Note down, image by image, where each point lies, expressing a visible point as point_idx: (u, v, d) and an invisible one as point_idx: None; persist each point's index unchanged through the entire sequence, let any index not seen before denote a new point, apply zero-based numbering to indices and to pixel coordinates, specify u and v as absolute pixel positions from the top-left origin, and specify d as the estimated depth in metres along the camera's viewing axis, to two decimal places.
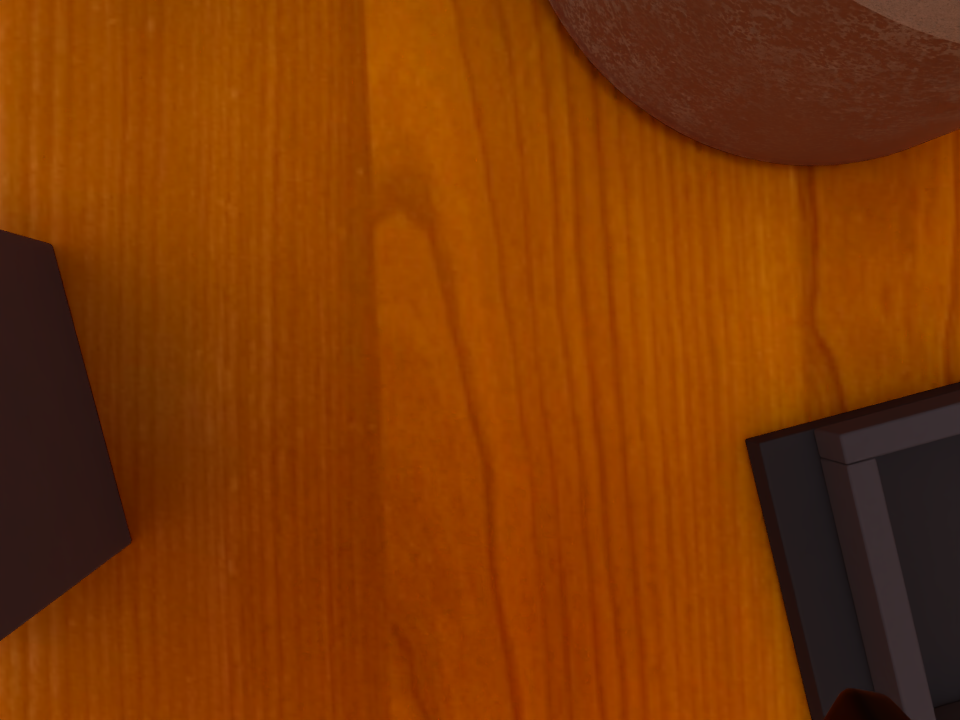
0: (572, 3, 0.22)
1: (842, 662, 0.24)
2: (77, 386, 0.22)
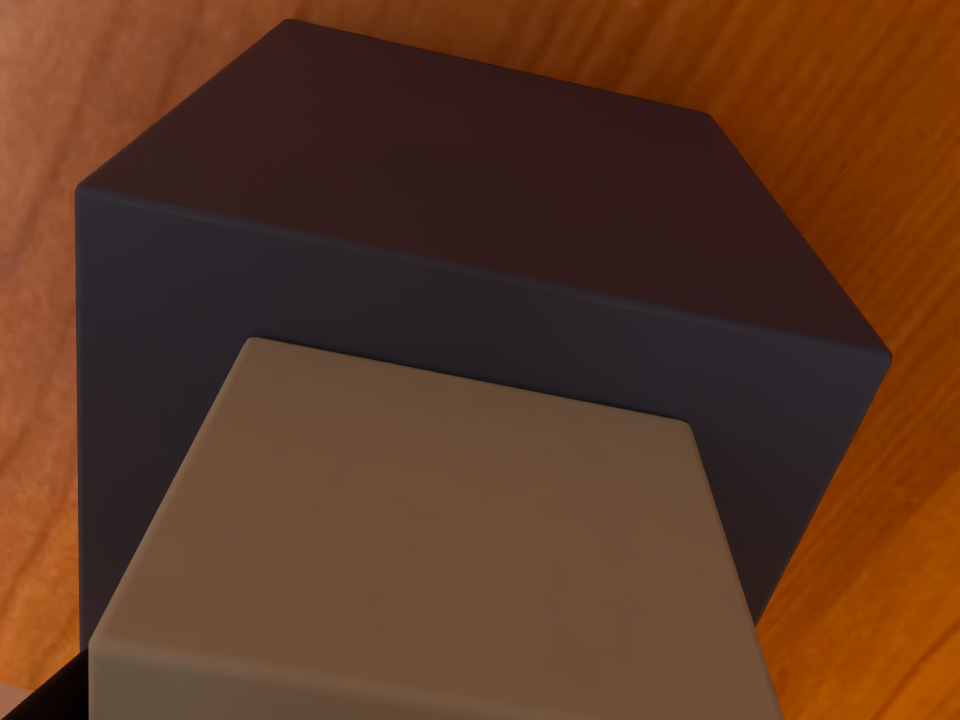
0: None
1: None
2: None
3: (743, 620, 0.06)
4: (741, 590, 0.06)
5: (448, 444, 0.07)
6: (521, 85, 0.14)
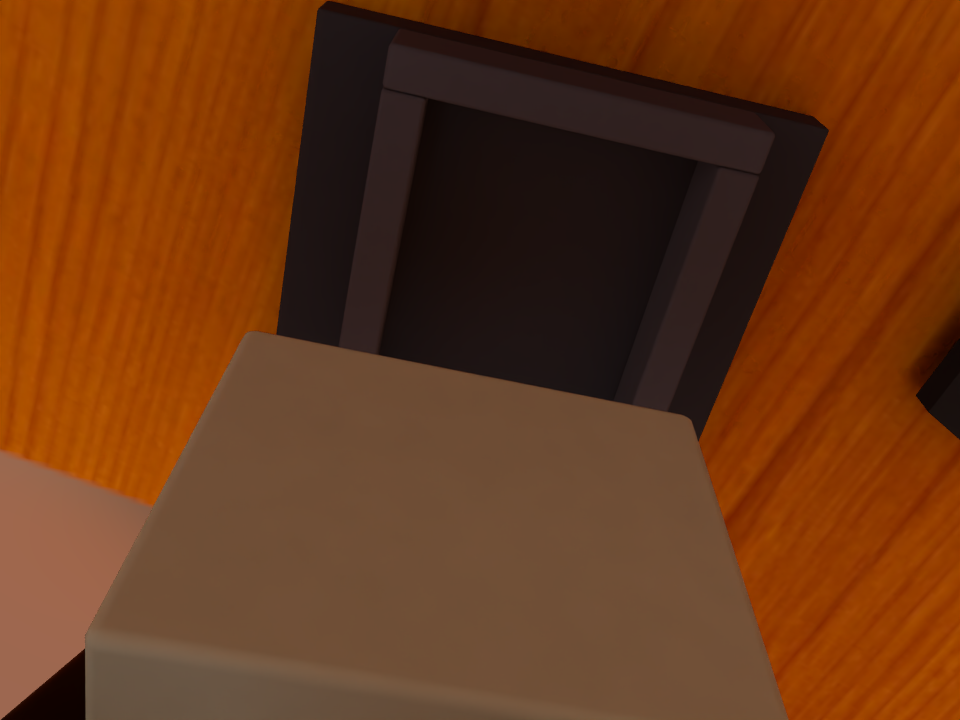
0: None
1: (317, 316, 0.20)
2: None
3: (745, 614, 0.06)
4: (743, 584, 0.06)
5: (448, 438, 0.07)
6: None
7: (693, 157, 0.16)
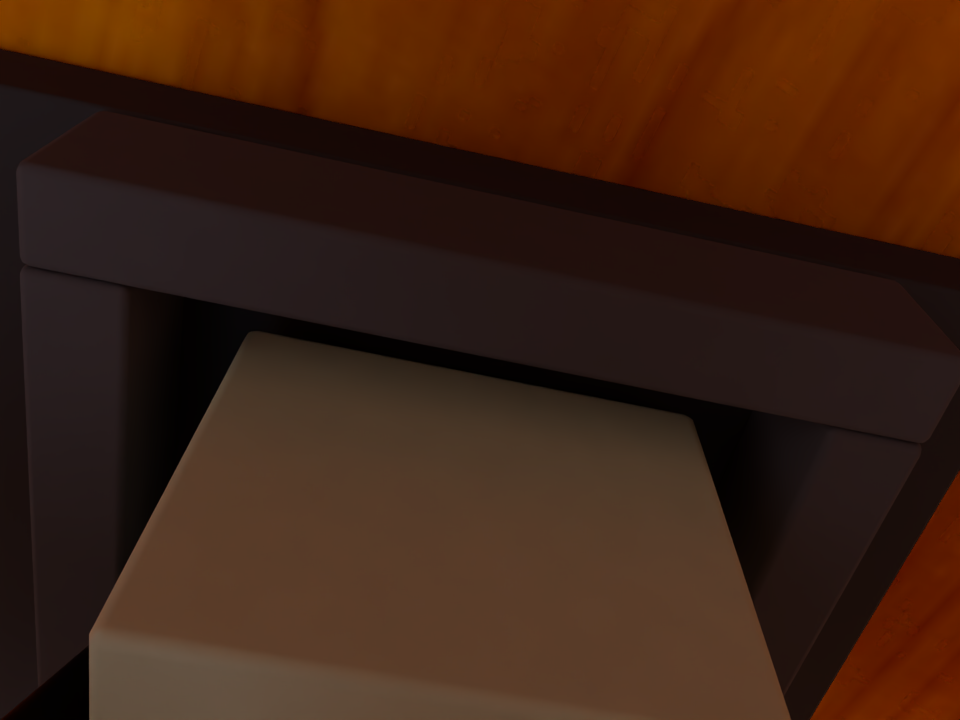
0: None
1: None
2: None
3: (747, 613, 0.06)
4: (744, 584, 0.06)
5: (450, 437, 0.07)
6: None
7: (772, 411, 0.07)
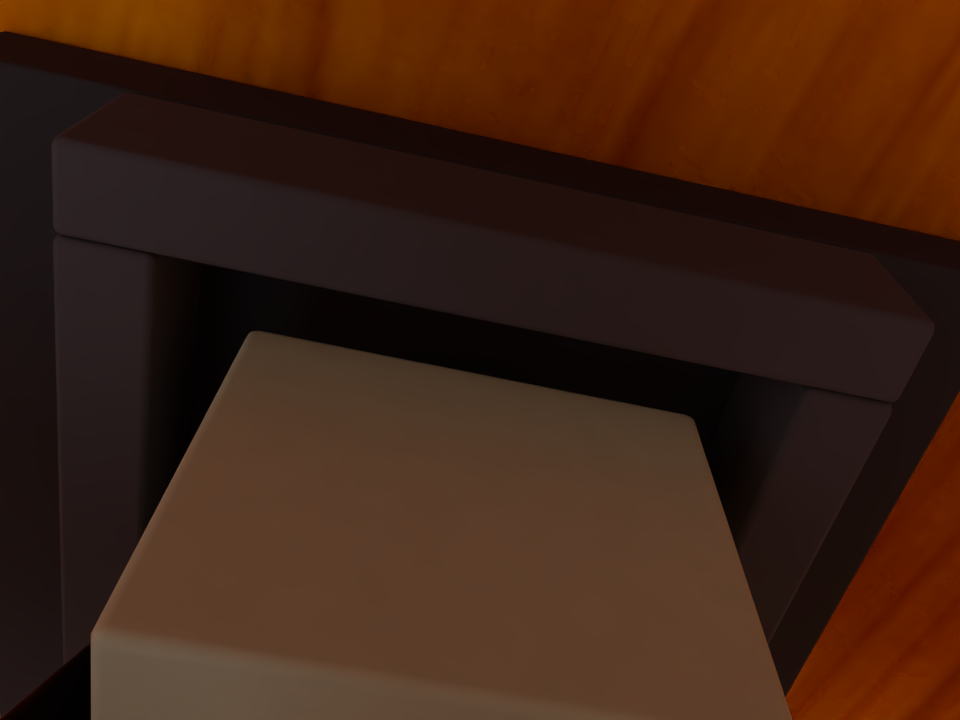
0: None
1: (58, 594, 0.11)
2: None
3: (748, 612, 0.06)
4: (745, 584, 0.06)
5: (451, 437, 0.07)
6: None
7: (752, 372, 0.07)
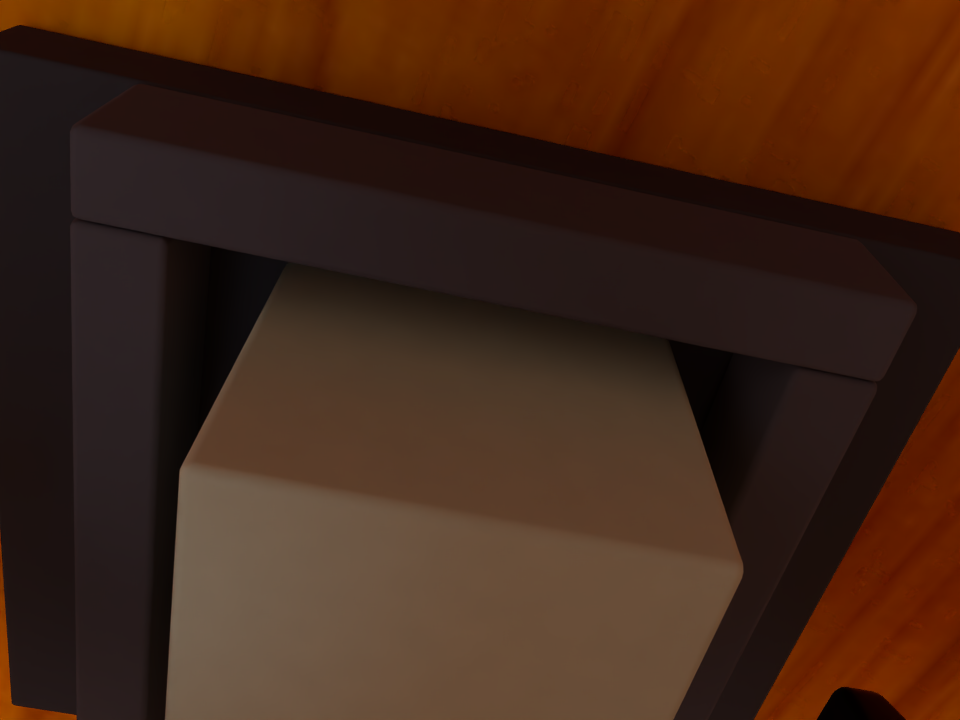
0: None
1: (69, 574, 0.11)
2: None
3: (706, 476, 0.07)
4: (706, 459, 0.08)
5: (461, 345, 0.08)
6: None
7: (742, 352, 0.08)
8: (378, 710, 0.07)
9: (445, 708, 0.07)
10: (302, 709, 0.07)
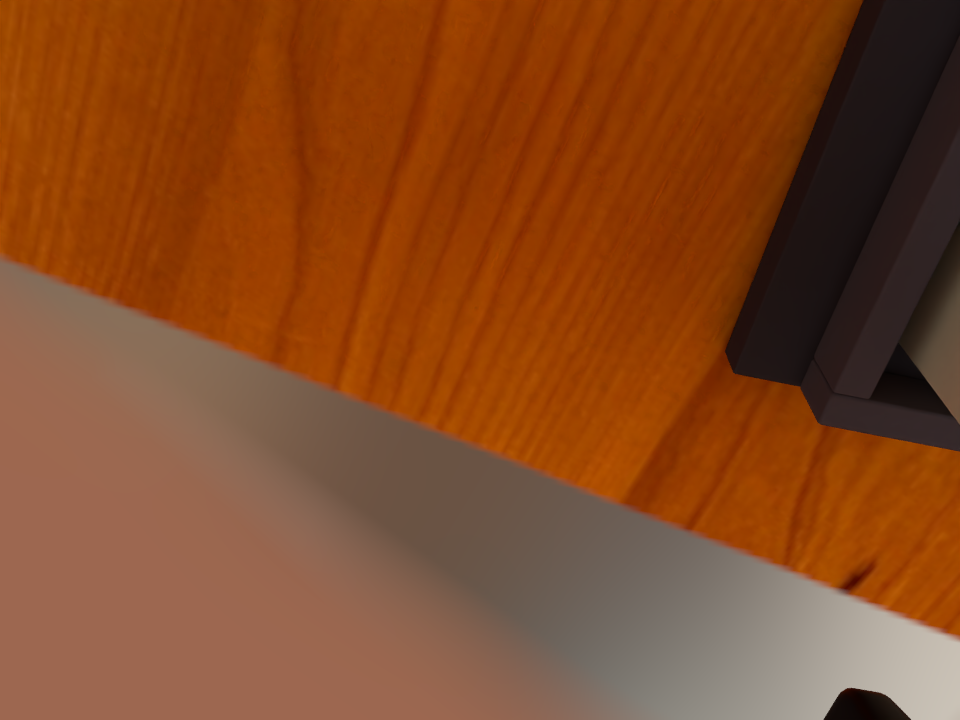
0: None
1: (816, 273, 0.19)
2: None
3: None
4: None
5: None
6: None
7: None
8: None
9: None
10: None
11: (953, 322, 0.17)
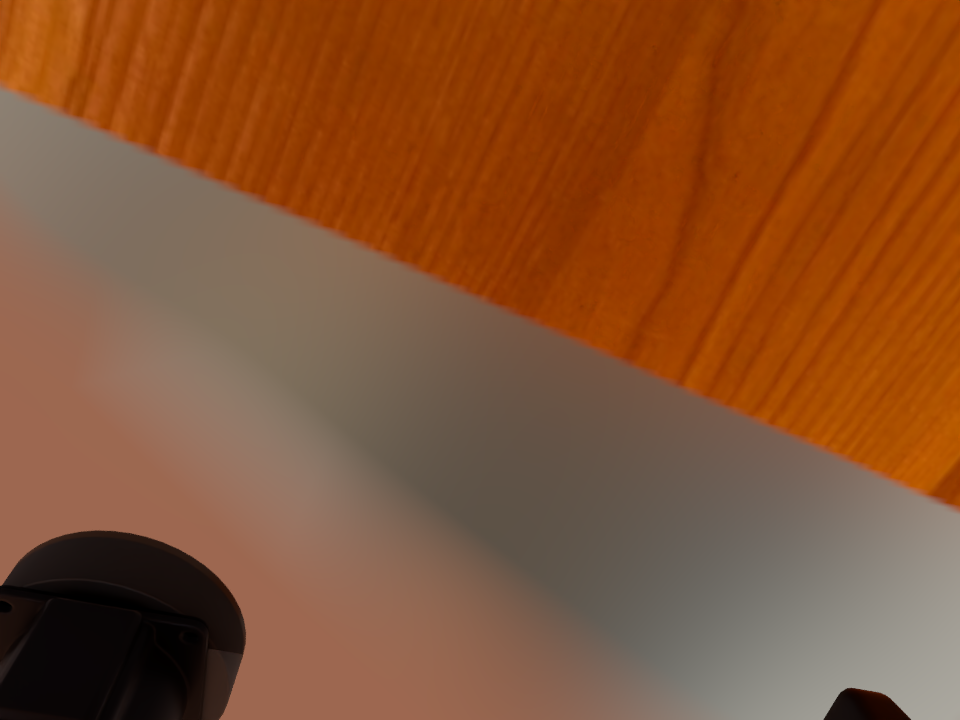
0: None
1: None
2: None
3: None
4: None
5: None
6: None
7: None
8: None
9: None
10: None
11: None
